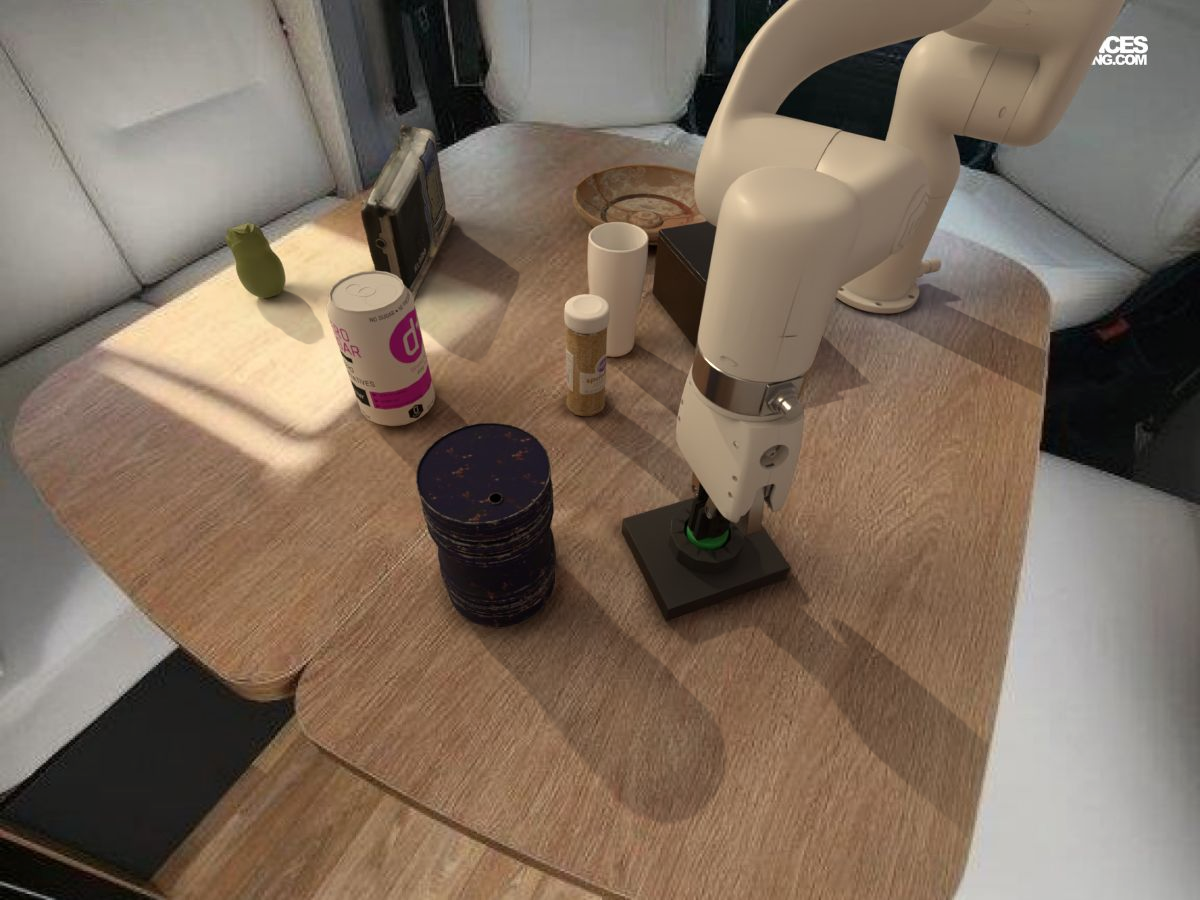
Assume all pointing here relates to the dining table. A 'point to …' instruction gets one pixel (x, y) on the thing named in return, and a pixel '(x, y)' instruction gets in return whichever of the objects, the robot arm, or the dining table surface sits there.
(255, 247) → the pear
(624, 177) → the ceramic bowl
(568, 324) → the sprinkles bottle
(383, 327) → the soda can
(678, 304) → the cabinet
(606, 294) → the tall white cup
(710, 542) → the button
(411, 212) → the radio
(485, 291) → the dining table surface
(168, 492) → the dining table surface
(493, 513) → the storage jar
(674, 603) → the control block
